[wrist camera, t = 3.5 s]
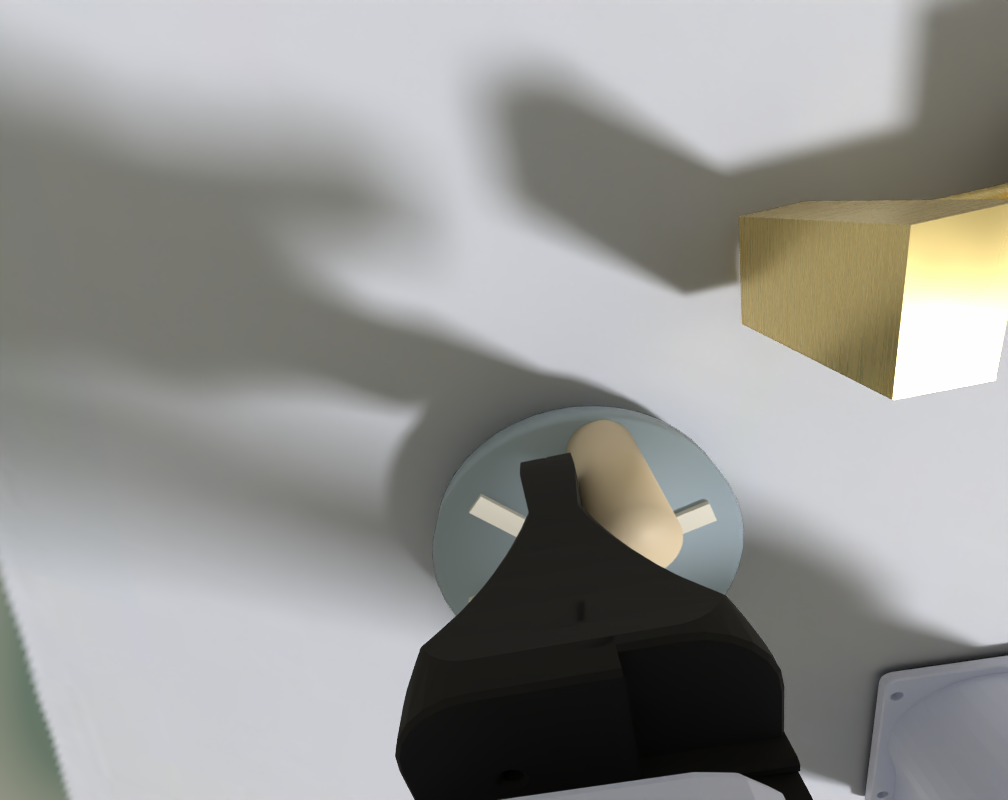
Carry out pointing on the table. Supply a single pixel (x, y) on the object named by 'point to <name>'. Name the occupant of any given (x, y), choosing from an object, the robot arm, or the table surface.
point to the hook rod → (883, 287)
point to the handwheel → (592, 497)
